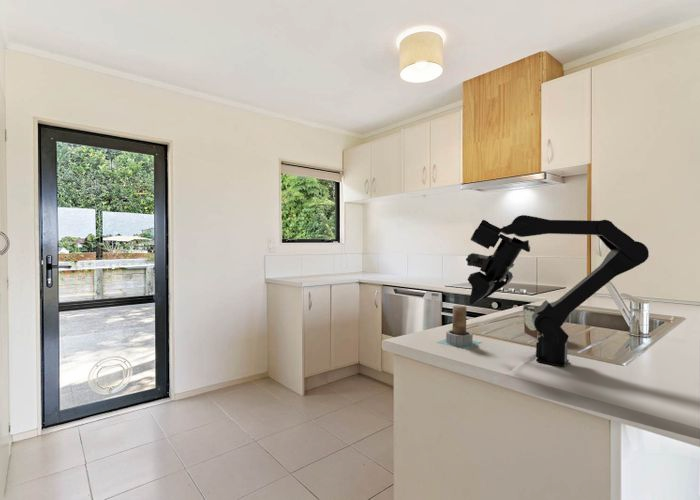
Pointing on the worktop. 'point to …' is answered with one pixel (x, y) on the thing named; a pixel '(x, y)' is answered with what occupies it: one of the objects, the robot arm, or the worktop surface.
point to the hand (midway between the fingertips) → (477, 300)
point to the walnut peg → (459, 320)
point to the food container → (530, 322)
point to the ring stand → (459, 340)
